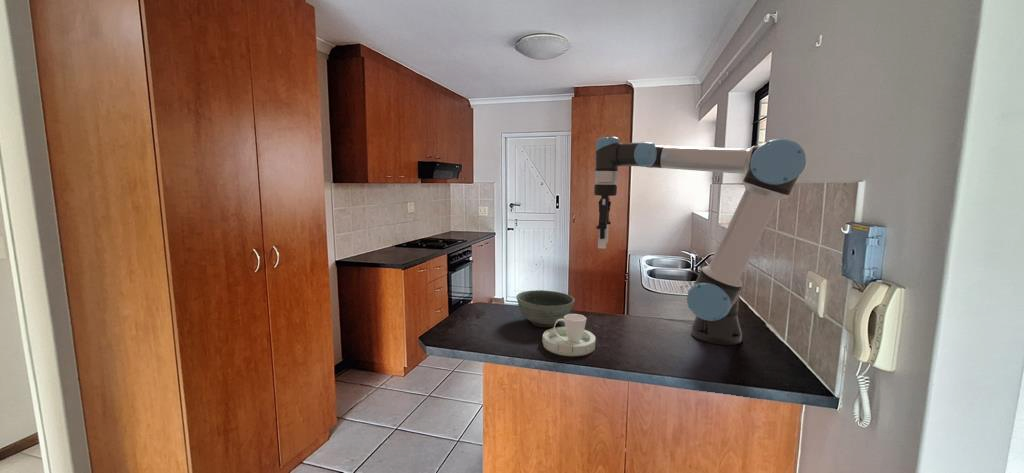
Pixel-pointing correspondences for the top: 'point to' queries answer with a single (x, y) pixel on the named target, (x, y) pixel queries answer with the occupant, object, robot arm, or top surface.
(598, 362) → the top surface
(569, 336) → the cup
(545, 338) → the tray
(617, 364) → the top surface
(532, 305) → the bowl
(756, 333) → the top surface
